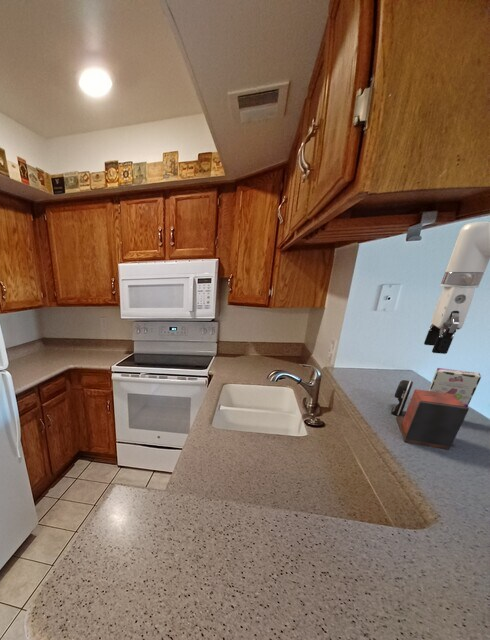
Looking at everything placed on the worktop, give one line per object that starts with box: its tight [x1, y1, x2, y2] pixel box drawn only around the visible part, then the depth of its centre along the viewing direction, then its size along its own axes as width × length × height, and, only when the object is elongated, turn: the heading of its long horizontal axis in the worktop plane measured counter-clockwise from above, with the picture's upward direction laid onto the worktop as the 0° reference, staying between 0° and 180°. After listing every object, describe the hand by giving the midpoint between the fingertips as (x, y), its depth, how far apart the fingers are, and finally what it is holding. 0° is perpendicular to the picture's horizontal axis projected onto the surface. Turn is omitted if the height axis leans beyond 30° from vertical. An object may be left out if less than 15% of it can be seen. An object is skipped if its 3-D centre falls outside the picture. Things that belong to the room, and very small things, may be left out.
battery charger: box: [390, 379, 414, 417], centre depth 114 cm, size 7×4×11 cm, turn 142°
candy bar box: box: [427, 367, 482, 408], centre depth 109 cm, size 11×5×16 cm, turn 55°
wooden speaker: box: [395, 388, 470, 451], centre depth 100 cm, size 11×18×13 cm, turn 155°
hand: (434, 348), depth 90 cm, fingers open, 9 cm apart
